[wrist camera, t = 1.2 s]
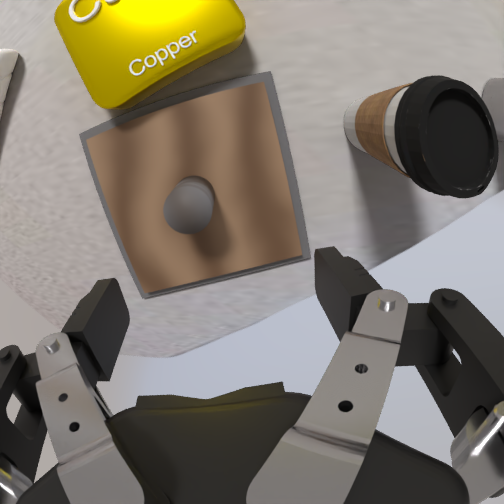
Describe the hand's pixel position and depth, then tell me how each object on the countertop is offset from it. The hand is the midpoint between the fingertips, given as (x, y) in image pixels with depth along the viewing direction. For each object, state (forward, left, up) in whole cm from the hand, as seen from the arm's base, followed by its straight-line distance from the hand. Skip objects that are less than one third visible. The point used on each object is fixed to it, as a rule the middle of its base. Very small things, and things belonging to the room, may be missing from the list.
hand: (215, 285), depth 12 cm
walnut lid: (+3, 0, -19) cm, 19 cm away
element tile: (+3, -19, -20) cm, 28 cm away
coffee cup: (-16, -3, -19) cm, 25 cm away
